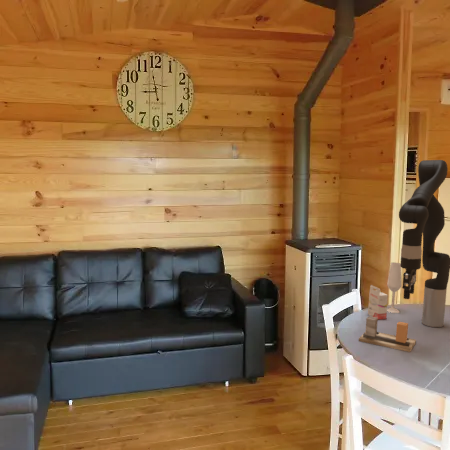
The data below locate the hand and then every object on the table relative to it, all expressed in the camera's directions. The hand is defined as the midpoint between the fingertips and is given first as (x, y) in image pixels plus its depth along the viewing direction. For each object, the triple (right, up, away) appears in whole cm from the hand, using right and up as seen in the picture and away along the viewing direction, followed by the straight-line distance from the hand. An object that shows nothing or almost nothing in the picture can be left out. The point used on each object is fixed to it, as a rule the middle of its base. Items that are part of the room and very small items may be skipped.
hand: (408, 296), depth 192 cm
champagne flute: (+10, -15, +48) cm, 51 cm away
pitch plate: (-6, -20, +6) cm, 21 cm away
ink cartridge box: (0, -16, +38) cm, 41 cm away
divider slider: (-2, -18, +2) cm, 19 cm away
